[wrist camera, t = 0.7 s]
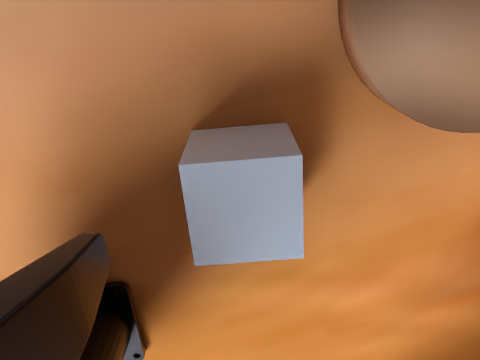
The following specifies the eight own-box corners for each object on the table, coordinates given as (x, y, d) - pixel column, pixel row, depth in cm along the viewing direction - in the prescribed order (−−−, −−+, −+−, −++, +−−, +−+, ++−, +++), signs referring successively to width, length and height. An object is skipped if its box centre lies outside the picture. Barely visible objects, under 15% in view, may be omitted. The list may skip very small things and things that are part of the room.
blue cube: (289, 206, 21) (303, 258, 17) (203, 212, 21) (194, 266, 17) (286, 122, 19) (302, 154, 15) (191, 129, 19) (178, 165, 15)
